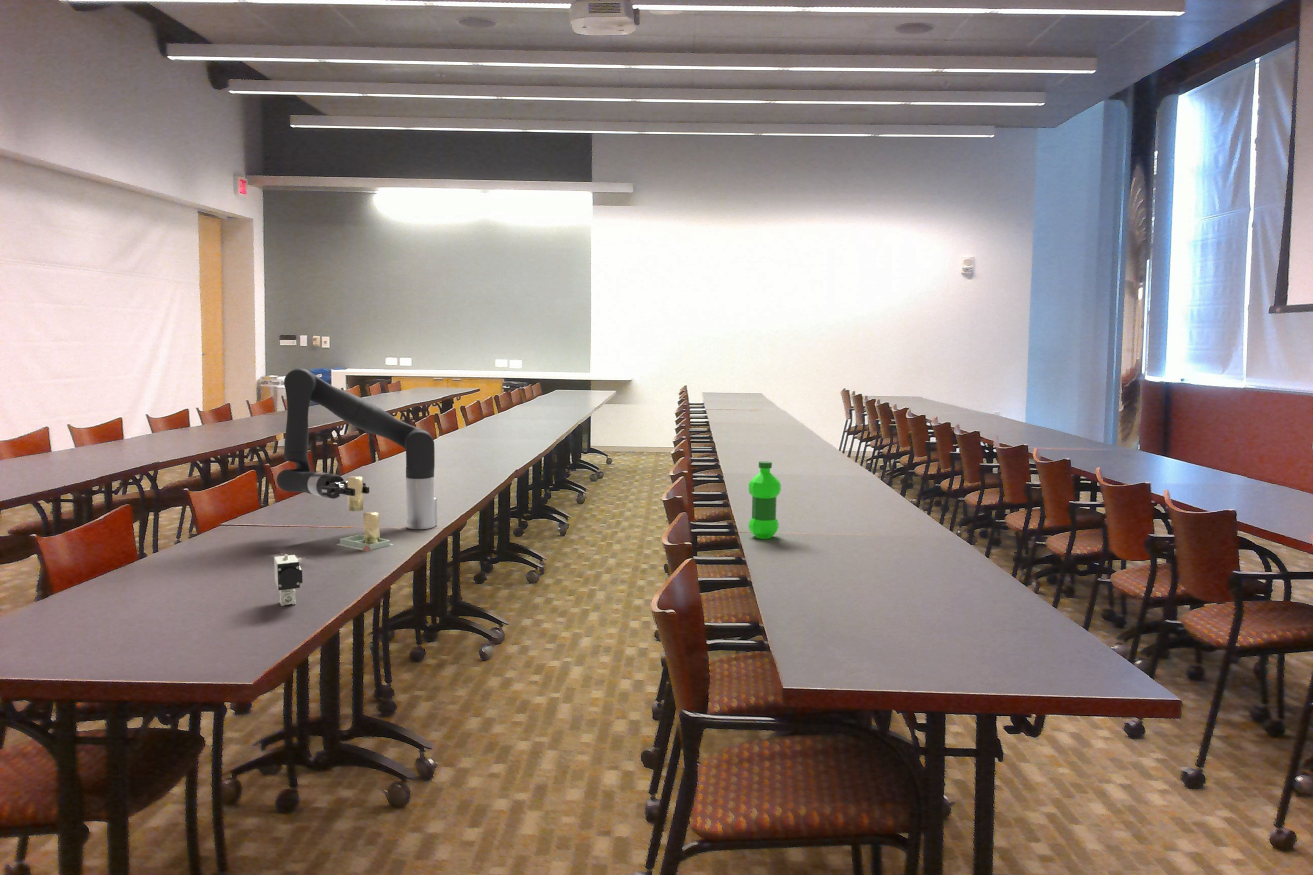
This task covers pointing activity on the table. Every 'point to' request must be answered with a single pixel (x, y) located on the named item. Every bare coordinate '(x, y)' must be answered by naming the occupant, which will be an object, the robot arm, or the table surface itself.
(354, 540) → the pale green divided tray
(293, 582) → the pneumatic valve
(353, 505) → the billet
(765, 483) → the plastic bottle
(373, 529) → the seated billet
